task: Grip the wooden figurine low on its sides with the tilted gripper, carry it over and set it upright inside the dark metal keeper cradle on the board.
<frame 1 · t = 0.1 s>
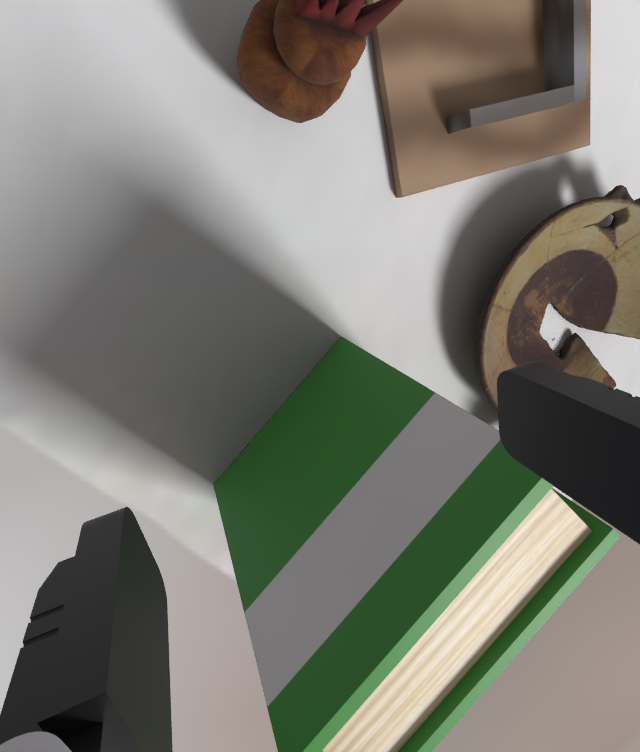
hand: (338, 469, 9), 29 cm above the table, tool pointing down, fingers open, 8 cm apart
oil lamp: (527, 335, 48), on the table
wooden figurine: (276, 80, 33), on the table
keeper cradle: (484, 39, 37), on the table
hardback book: (305, 431, 43), on the table
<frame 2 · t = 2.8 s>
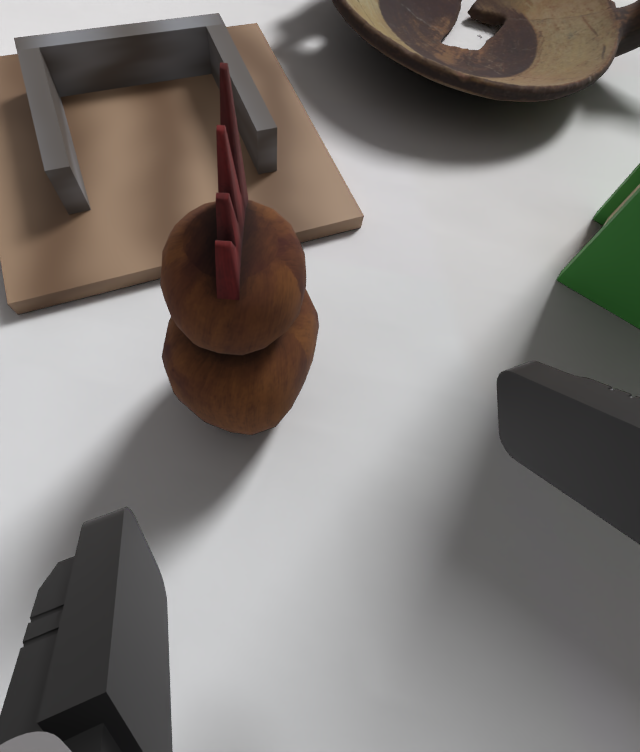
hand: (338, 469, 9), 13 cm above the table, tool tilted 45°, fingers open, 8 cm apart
oil lamp: (482, 65, 37), on the table
wooden figurine: (249, 389, 24), on the table
keeper cradle: (161, 148, 30), on the table
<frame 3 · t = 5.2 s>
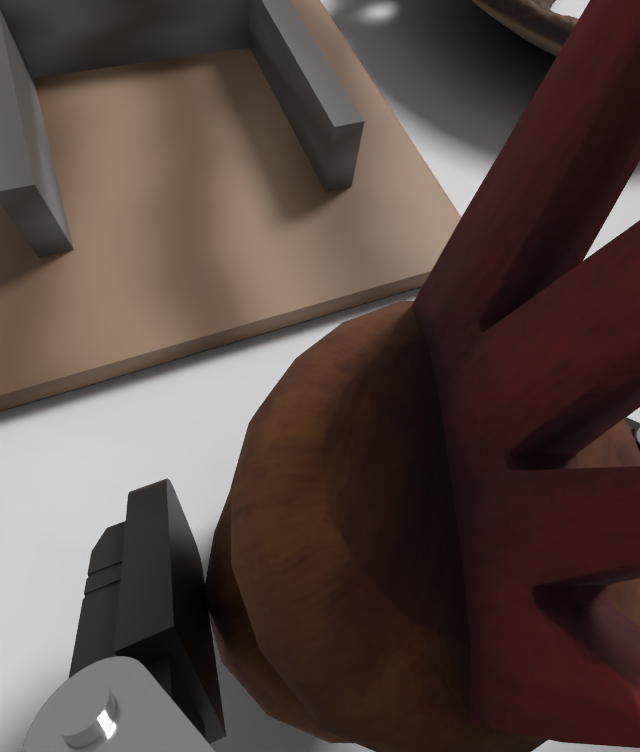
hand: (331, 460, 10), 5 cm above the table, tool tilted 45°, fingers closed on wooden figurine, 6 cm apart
oil lamp: (602, 42, 28), on the table
wooden figurine: (330, 551, 14), on the table, touching gripper
keeper cradle: (179, 153, 20), on the table
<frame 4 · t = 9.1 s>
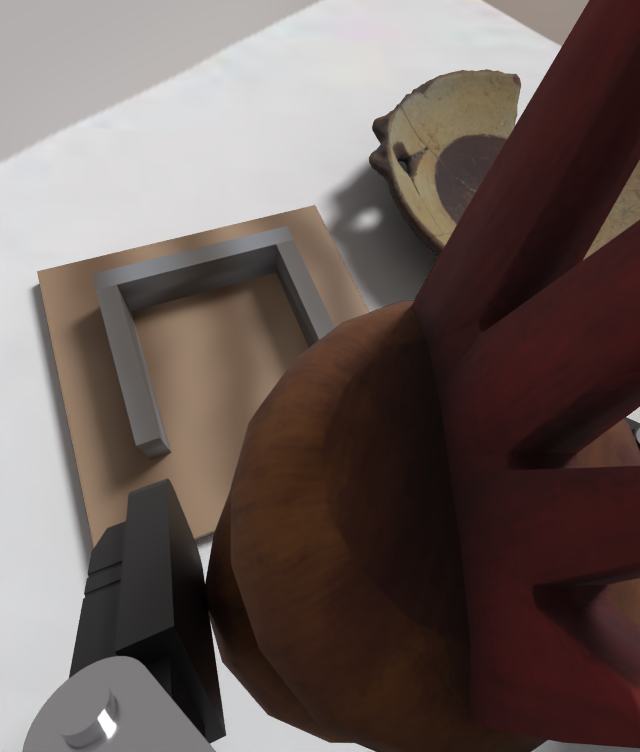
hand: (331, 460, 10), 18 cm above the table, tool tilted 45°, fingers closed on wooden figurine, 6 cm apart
oil lamp: (534, 233, 38), on the table
wooden figurine: (330, 551, 14), point 12 cm above the table, touching gripper
keeper cradle: (230, 360, 30), on the table
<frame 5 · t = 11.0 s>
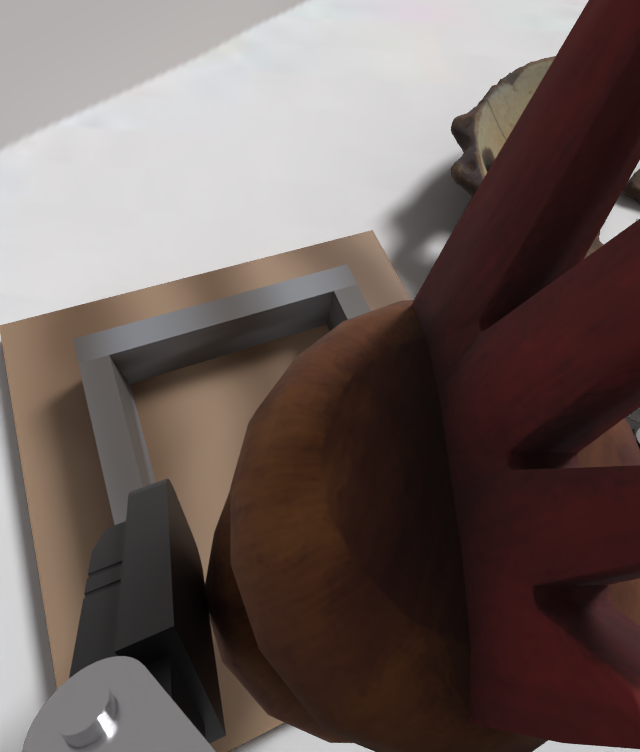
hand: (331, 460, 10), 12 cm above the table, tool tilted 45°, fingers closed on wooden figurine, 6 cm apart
wooden figurine: (330, 551, 14), point 6 cm above the table, touching gripper
keeper cradle: (267, 450, 22), on the table
when the fingers open (8 cm above the table, at t = 12.8 s): wooden figurine drops 1 cm, resting on keeper cradle.
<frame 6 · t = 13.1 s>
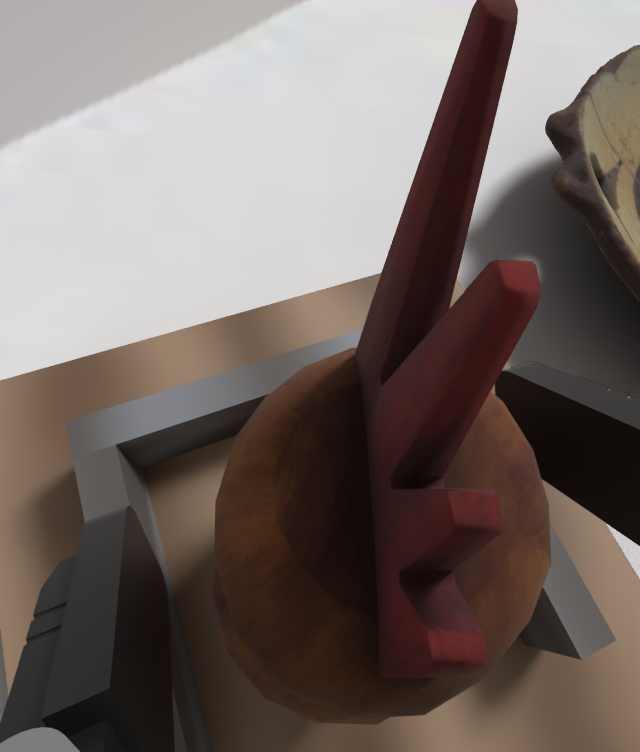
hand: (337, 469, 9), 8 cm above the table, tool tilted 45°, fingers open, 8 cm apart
wooden figurine: (333, 557, 15), point 1 cm above the table, touching keeper cradle
keeper cradle: (323, 554, 16), on the table
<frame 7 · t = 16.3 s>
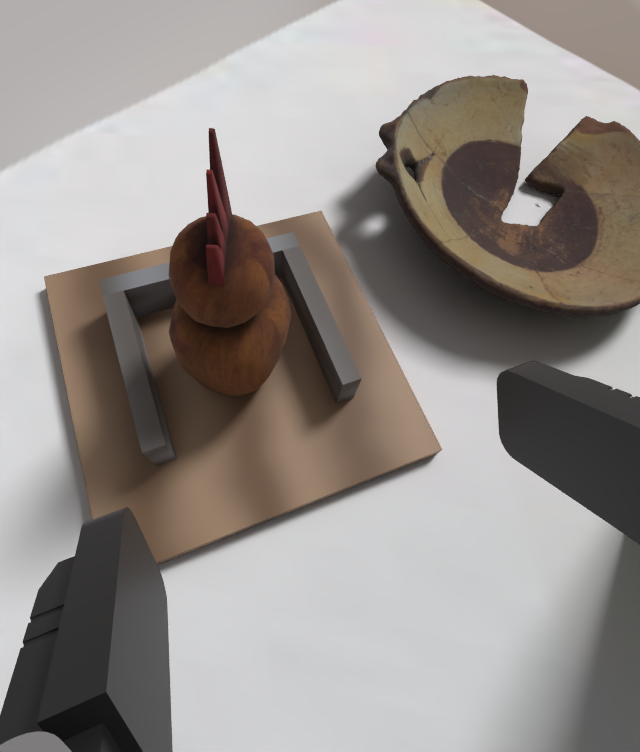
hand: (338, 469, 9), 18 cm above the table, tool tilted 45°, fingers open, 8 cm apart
oil lamp: (541, 239, 37), on the table
wooden figurine: (238, 363, 29), point 1 cm above the table, touching keeper cradle
keeper cradle: (235, 366, 30), on the table
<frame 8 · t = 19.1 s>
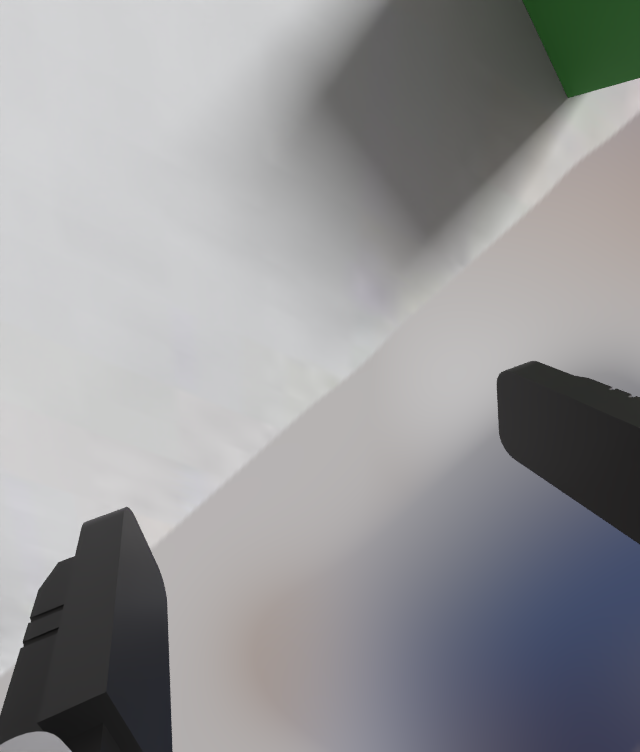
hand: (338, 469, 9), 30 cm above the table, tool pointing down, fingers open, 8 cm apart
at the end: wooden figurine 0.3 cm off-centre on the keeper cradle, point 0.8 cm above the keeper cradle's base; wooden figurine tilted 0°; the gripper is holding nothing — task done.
